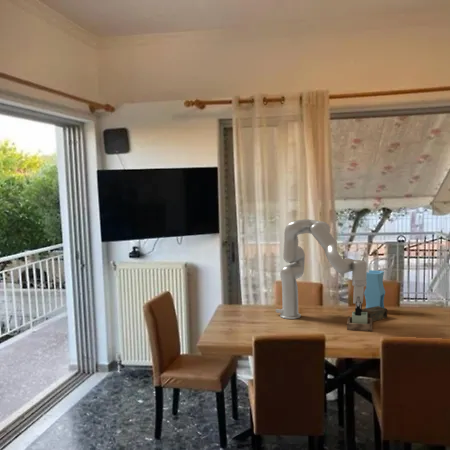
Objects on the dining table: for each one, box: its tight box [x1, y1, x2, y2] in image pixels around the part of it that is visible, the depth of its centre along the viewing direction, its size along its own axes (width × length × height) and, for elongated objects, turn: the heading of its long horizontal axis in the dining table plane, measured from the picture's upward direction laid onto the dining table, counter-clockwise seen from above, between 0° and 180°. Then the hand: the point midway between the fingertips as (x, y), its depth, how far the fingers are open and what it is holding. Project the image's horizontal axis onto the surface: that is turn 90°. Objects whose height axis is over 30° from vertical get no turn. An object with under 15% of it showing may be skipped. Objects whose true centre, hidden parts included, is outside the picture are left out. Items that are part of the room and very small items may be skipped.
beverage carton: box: [361, 306, 388, 322], centre depth 266 cm, size 8×19×7 cm, turn 122°
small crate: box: [351, 311, 367, 324], centre depth 251 cm, size 8×6×7 cm
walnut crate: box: [346, 316, 373, 332], centre depth 251 cm, size 13×14×4 cm
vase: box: [363, 269, 386, 308], centre depth 282 cm, size 10×10×25 cm
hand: (358, 313), depth 251 cm, fingers open, 9 cm apart
